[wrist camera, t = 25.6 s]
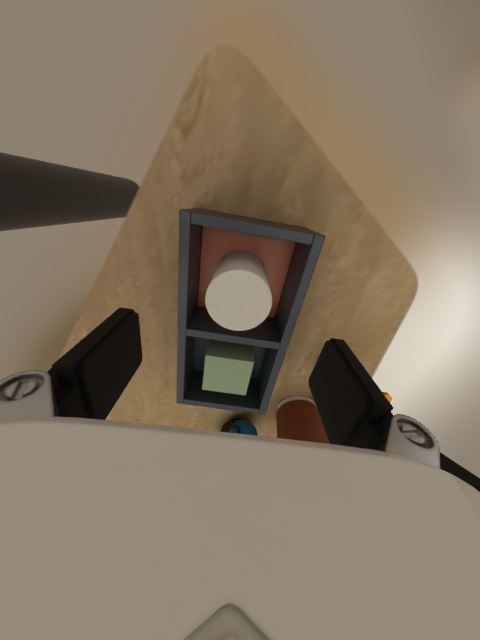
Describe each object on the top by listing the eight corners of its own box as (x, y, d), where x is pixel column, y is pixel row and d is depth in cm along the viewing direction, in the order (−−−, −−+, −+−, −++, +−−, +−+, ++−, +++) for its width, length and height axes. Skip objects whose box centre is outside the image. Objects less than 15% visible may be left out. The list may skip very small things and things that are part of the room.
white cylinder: (214, 293, 23) (202, 326, 16) (219, 245, 20) (207, 263, 14) (259, 300, 23) (264, 335, 17) (270, 254, 20) (279, 275, 14)
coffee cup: (321, 427, 35) (353, 524, 24) (267, 428, 35) (275, 522, 25) (330, 389, 30) (373, 487, 20) (267, 390, 31) (277, 486, 20)
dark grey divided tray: (188, 369, 29) (176, 403, 24) (196, 207, 19) (179, 209, 14) (261, 380, 30) (264, 414, 25) (306, 227, 20) (326, 235, 15)
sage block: (209, 360, 28) (201, 389, 23) (212, 328, 25) (205, 355, 21) (246, 365, 28) (245, 395, 23) (253, 335, 25) (254, 362, 21)
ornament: (245, 404, 32) (244, 478, 24) (263, 419, 34) (269, 493, 25) (208, 425, 35) (195, 497, 27) (227, 437, 37) (220, 510, 28)
